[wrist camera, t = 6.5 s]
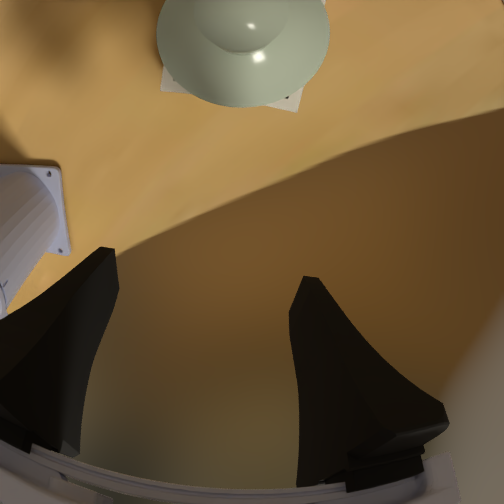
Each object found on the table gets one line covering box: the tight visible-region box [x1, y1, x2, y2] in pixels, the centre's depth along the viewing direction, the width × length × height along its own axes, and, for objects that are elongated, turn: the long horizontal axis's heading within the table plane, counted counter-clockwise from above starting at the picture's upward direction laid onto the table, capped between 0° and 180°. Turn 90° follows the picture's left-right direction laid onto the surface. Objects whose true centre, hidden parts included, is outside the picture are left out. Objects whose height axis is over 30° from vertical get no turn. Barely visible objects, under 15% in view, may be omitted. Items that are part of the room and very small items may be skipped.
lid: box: [156, 0, 330, 108], centre depth 9 cm, size 8×8×6 cm
